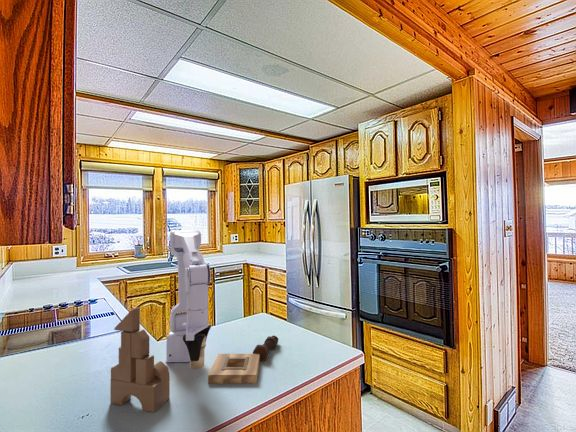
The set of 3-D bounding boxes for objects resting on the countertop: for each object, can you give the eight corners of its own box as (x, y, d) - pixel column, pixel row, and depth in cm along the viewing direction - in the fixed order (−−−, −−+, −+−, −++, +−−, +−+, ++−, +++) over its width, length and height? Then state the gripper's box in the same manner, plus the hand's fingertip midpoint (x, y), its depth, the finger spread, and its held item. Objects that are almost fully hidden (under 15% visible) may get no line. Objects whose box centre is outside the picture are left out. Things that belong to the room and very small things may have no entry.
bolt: (276, 349, 119) (261, 365, 105) (266, 341, 120) (250, 356, 106) (283, 336, 118) (270, 351, 104) (273, 328, 120) (258, 342, 105)
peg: (186, 369, 84) (186, 339, 85) (191, 362, 89) (192, 334, 89) (203, 369, 84) (203, 339, 85) (207, 362, 89) (207, 334, 89)
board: (208, 383, 91) (208, 374, 91) (218, 361, 105) (218, 353, 105) (255, 383, 91) (255, 374, 91) (259, 361, 105) (259, 353, 105)
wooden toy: (171, 397, 84) (171, 305, 84) (153, 412, 77) (154, 312, 77) (124, 388, 88) (125, 300, 88) (104, 402, 82) (105, 307, 82)
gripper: (191, 300, 94) (190, 345, 94) (173, 316, 79) (173, 369, 79) (214, 300, 94) (214, 345, 94) (201, 316, 80) (201, 369, 80)
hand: (197, 356), depth 87 cm, fingers closed on peg, 4 cm apart
